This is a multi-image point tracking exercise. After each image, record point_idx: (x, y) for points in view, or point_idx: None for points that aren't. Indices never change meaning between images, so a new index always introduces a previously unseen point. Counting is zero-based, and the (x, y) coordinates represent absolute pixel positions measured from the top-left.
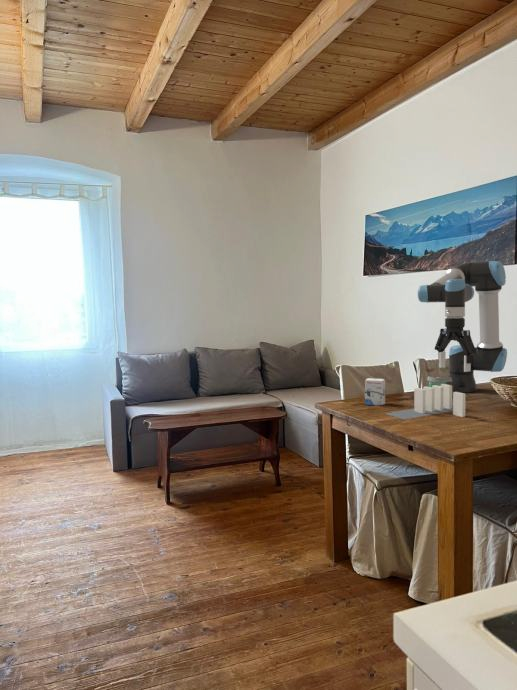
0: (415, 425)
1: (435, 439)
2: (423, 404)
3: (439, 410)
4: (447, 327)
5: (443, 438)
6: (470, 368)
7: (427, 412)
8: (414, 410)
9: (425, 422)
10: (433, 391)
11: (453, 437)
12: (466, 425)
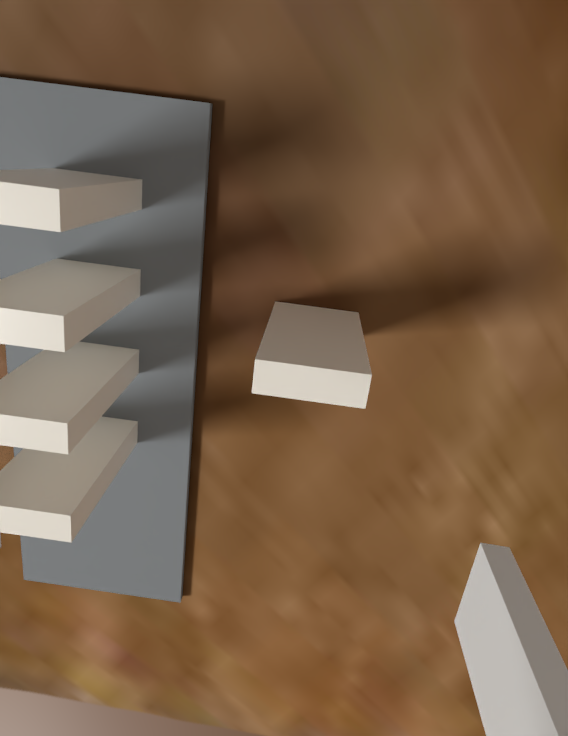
0: (279, 616)
1: None
2: (116, 466)
3: (139, 305)
4: None
5: None
6: (524, 579)
7: (135, 404)
8: None
9: (271, 547)
10: (80, 423)
11: None
12: (465, 451)
